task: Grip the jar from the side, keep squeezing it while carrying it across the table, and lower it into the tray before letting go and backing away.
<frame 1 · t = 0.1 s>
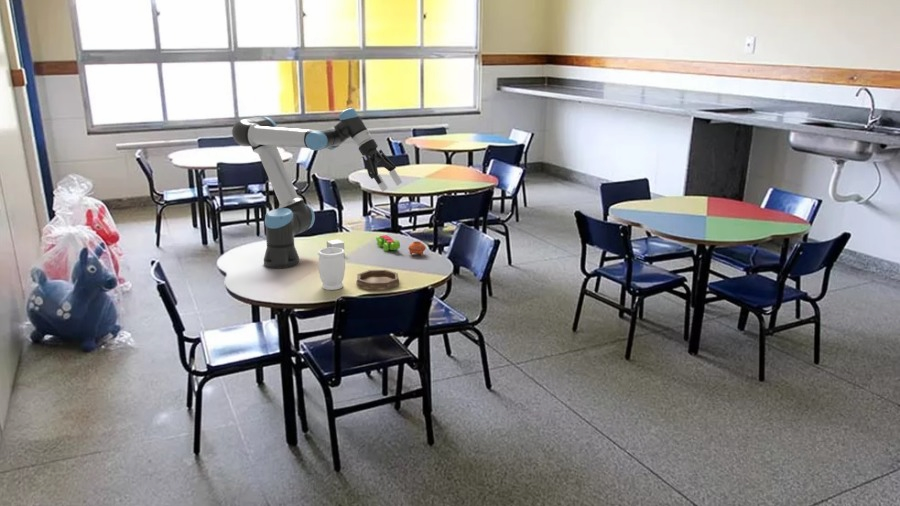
hand: (392, 186, 286), 36 cm above the table, tool tilted 35°, fingers open, 13 cm apart
jar: (332, 287, 274), on the table
tray: (377, 282, 279), on the table
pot: (417, 255, 316), on the table
white cube: (335, 254, 315), on the table
toy crocodile: (387, 248, 326), on the table
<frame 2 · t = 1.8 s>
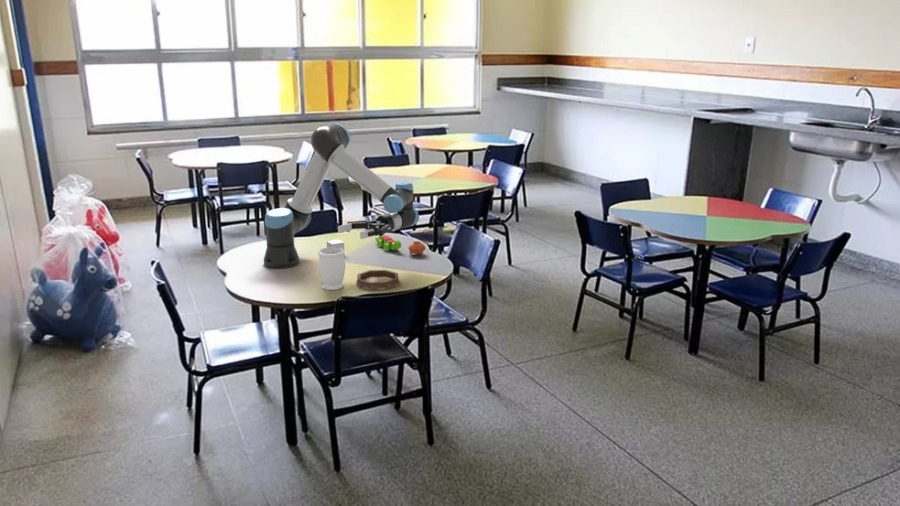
hand: (349, 232, 274), 20 cm above the table, tool horizontal, fingers open, 13 cm apart
nothing on the table moved.
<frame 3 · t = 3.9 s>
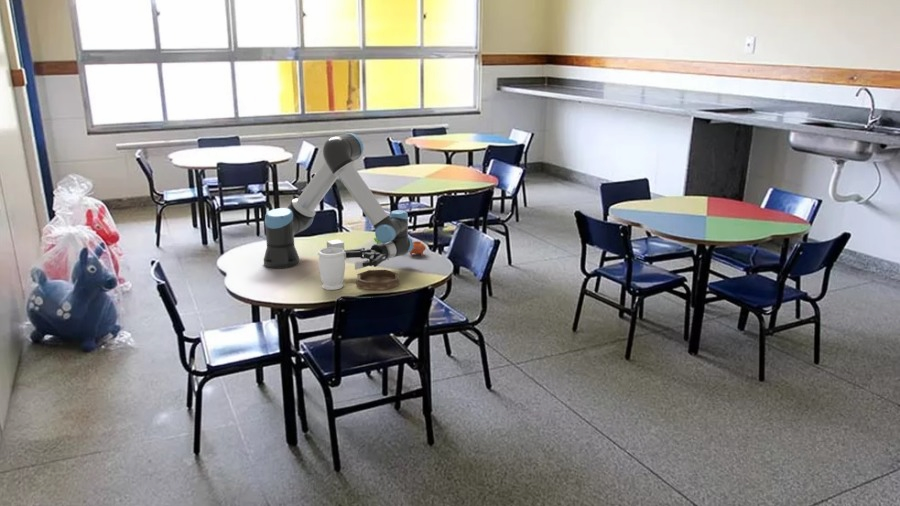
hand: (344, 262, 275), 9 cm above the table, tool horizontal, fingers open, 13 cm apart
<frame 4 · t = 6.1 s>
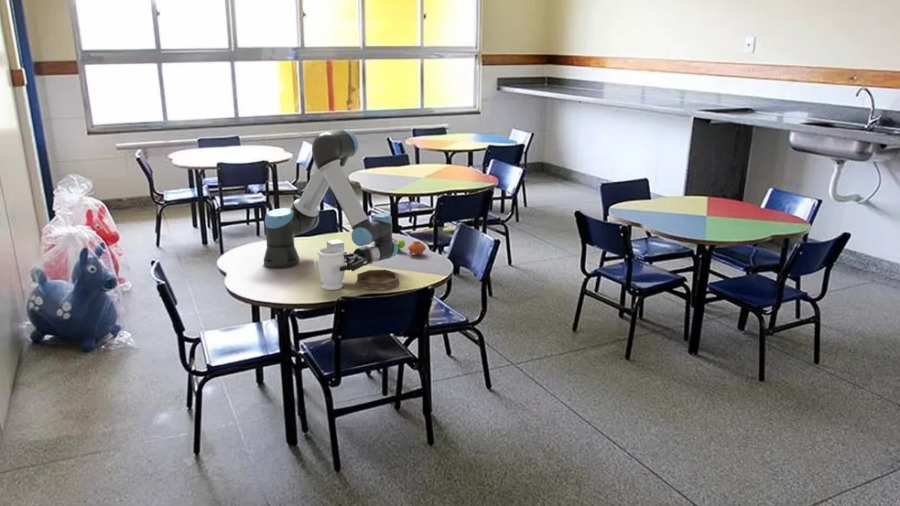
hand: (323, 267, 268), 9 cm above the table, tool horizontal, fingers closed on jar, 10 cm apart
jar: (332, 287, 274), on the table, touching gripper
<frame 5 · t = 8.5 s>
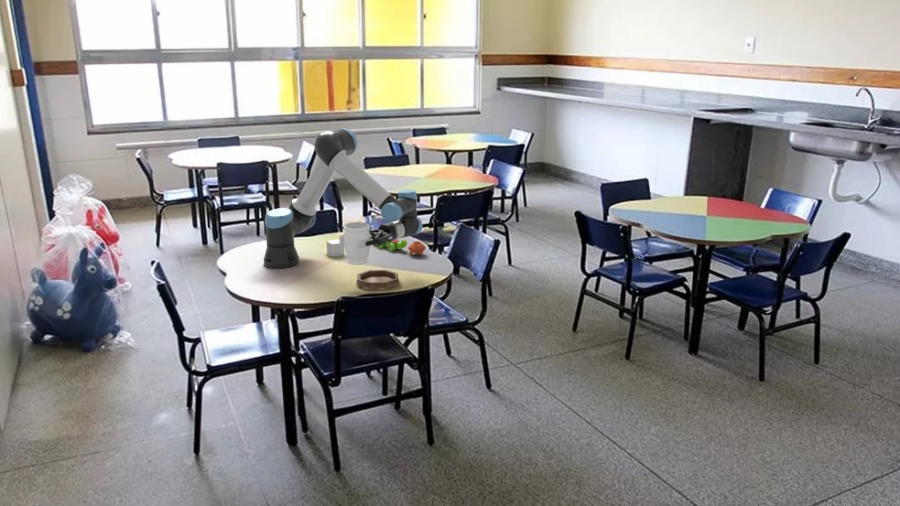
hand: (348, 242, 267), 19 cm above the table, tool horizontal, fingers closed on jar, 10 cm apart
jar: (357, 262, 273), point 10 cm above the table, touching gripper
when the fingers open (11 cm above the table, at t = 11.4 s): jar drops 1 cm, resting on tray.
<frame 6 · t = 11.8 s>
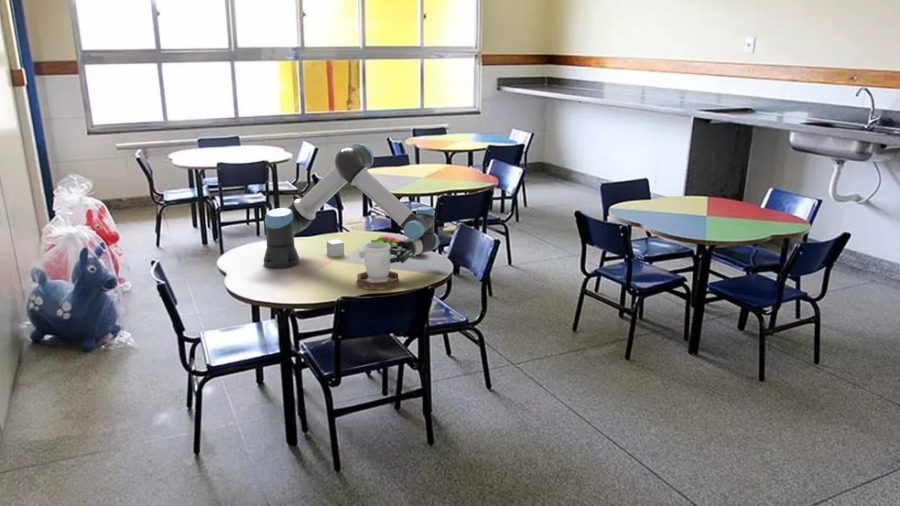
hand: (371, 258, 273), 11 cm above the table, tool horizontal, fingers open, 13 cm apart
jar: (378, 281, 278), point 1 cm above the table, touching tray
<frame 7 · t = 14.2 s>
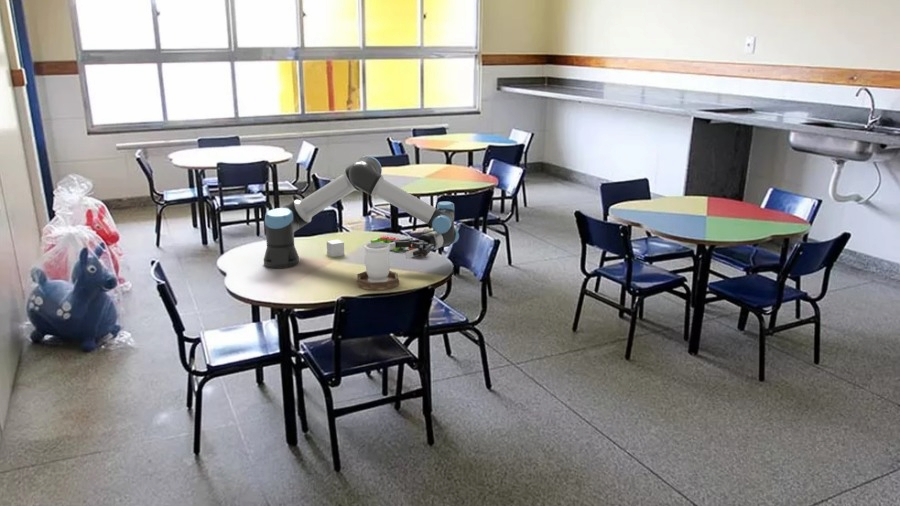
hand: (394, 251, 282), 11 cm above the table, tool horizontal, fingers open, 13 cm apart
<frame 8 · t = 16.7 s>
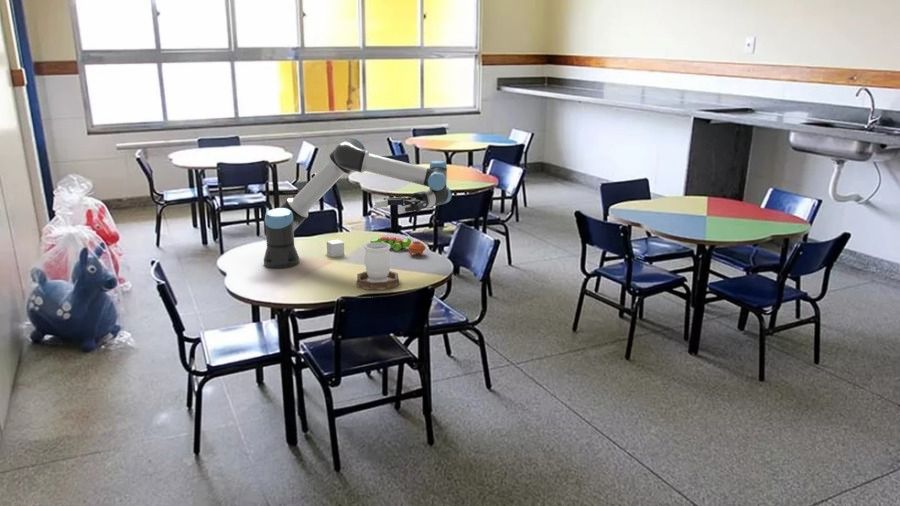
hand: (386, 207, 283), 28 cm above the table, tool horizontal, fingers open, 13 cm apart
at the end: jar 0.1 cm off-centre on the tray, point 0.6 cm above the tray's base; jar tilted 0°; the gripper is holding nothing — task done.
